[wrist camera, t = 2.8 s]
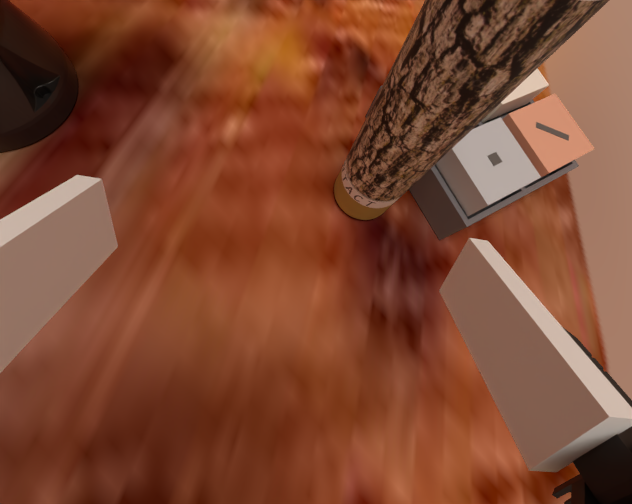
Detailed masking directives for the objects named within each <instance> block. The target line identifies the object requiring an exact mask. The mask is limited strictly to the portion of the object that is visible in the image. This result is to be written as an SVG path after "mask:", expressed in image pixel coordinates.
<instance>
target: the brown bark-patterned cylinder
mask: <svg viewBox="0 0 632 504" xmlns="http://www.w3.org/2000/svg"><path fill="white" fill-rule="evenodd" d="M608 1H609V0H425V2H424V4H423V6H422V8H421V10H420V12H419V14H418V16H417V18H416V20H415V22H414V24H413V26H412V28H411V30H410V32H409V34H408V36H407V38H406V40H405V42H404V44H403V46H402V48H401V50H400V52H399V54H398V56H397V58H396V60H395V62H394V64H393V66H392V68H391V70H390V72H389V74H388V76H387V78H386V80H385V82H384V84H383V86H382V88H381V90H380V92H379V94H378V96H377V98H376V100H375V102H374V104H373V106H372V108H371V110H370V112H369V114H368V116H367V118H366V120H365V122H364V124H363V126H362V128H361V130H360V132H359V134H358V136H357V138H356V140H355V142H354V144H353V146H352V148H351V150H350V152H349V154H348V156H347V158H346V160H345V162H344V164H343V167H342V169H341V171H340V173H339V175H338V177H337V179H336V181H335V185H334V195H335V199H336V201H337V203H338V205H339V206H340V208H341V209H342V210H343V211H344V212H345V213H346V214H348V215H349V216H351V217H353V218H356V219H361V220H370V219H374V218H376V217H378V216H380V215H381V214H383V213H384V212H385V211H386V210H387V209H388V208H389V207H390V206H391V205H392V204H393V203H395V202H396V201H397V200H398V199H399V198H400V197H401V196H402V195H403V194H404V193H405V192H406V191H407V190H408V189H410V188H411V187H412V186H413V185H414V184H415V183H416V182H417V181H418V180H419V179H420V178H421V177H422V176H423V175H424V174H425V173H427V172H428V171H429V170H430V169H431V168H432V167H433V166H434V165H435V164H436V163H437V162H438V161H439V160H440V159H441V158H442V157H444V156H445V155H446V154H447V153H448V152H449V151H450V150H451V149H452V148H453V147H454V146H455V145H456V144H457V143H458V142H459V141H461V140H462V139H463V138H464V137H465V136H466V135H467V134H468V133H469V132H470V131H471V130H472V129H473V128H474V127H475V126H476V125H478V124H479V123H480V122H481V121H482V120H483V119H484V118H485V117H486V116H487V115H488V114H489V113H490V112H491V111H492V110H493V109H495V108H496V107H497V106H498V105H499V104H500V103H501V102H502V101H503V100H504V99H505V98H506V97H507V96H508V95H509V94H510V93H512V92H513V91H514V90H515V89H516V88H517V87H518V86H519V85H520V84H521V83H522V82H523V81H524V80H525V79H526V78H527V77H529V76H530V75H531V74H532V73H533V72H534V71H535V70H536V69H537V68H538V67H539V66H540V65H541V64H542V63H543V62H544V61H546V60H547V59H548V58H549V57H550V56H551V55H552V54H553V53H554V52H555V51H556V50H557V49H558V48H559V47H560V46H561V45H562V44H564V43H565V42H566V41H567V40H568V39H569V38H570V37H571V36H572V35H573V34H574V33H575V32H576V31H577V30H578V29H580V28H581V27H582V26H583V25H584V24H585V23H586V22H587V21H588V20H589V19H590V18H591V17H592V16H593V15H594V14H595V13H597V12H598V11H599V10H600V9H601V8H602V7H603V6H604V5H605V4H606V3H607V2H608Z"/></svg>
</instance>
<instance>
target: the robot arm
mask: <svg viewBox="0 0 632 504" xmlns="http://www.w3.org/2000/svg"><path fill="white" fill-rule="evenodd" d="M77 93H78V80H77V75H76V71H75V69H74V67H73V65H72V63H71V61H70V60H69V58H68V57H67V56H66V54H65V53H64V51H63V50H62V49H61V47H60V46H59V45H58V43H57V42H56V41H55V40H54V38H53V37H52V36H51V35H50V34H49V33H48V32H47V31H46V30H44V29H43V28H42V27H41V26H40V25H38V24H37V23H36V22H35V21H33V20H32V19H31V18H30V17H28V16H27V15H26V14H25V13H23V12H22V11H21V10H20V9H19V8H17V7H16V6H15V5H14V4H12V3H11V2H10V1H9V0H0V152H4V151H9V150H14V149H18V148H21V147H24V146H27V145H29V144H32V143H34V142H36V141H38V140H40V139H42V138H44V137H45V136H47V135H48V134H50V133H51V132H53V131H54V130H55V129H56V128H57V127H58V126H59V125H61V124H62V122H63V121H64V120H65V119H66V118H67V116H68V115H69V113H70V112H71V110H72V108H73V106H74V104H75V101H76V98H77ZM117 247H118V244H117V240H116V236H115V232H114V227H113V223H112V219H111V215H110V211H109V206H108V202H107V198H106V194H105V189H104V185H103V181H102V179H100V178H93V177H87V176H81V175H76V176H74V177H73V178H71V179H69V180H68V181H66V182H64V183H62V184H61V185H59V186H57V187H56V188H54V189H52V190H50V191H49V192H47V193H45V194H44V195H42V196H40V197H38V198H37V199H35V200H33V201H32V202H30V203H28V204H26V205H25V206H23V207H21V208H20V209H18V210H16V211H14V212H13V213H11V214H9V215H8V216H6V217H4V218H2V219H1V220H0V373H1V372H2V371H3V370H4V369H5V367H6V366H7V365H8V364H9V363H10V362H11V361H12V360H13V359H14V358H15V357H16V356H17V355H18V353H19V352H20V351H21V350H22V349H23V348H24V347H25V346H26V345H27V344H28V343H29V342H30V341H31V340H32V338H33V337H34V336H35V335H36V334H37V333H38V332H39V331H40V330H41V329H42V328H43V327H44V326H45V324H46V323H47V322H48V321H49V320H50V319H51V318H52V317H53V316H54V315H55V314H56V313H57V312H58V311H59V309H60V308H61V307H62V306H63V305H64V304H65V303H66V302H67V301H68V300H69V299H70V298H71V297H72V295H73V294H74V293H75V292H76V291H77V290H78V289H79V288H80V287H81V286H82V285H83V284H84V283H85V282H86V280H87V279H88V278H89V277H90V276H91V275H92V274H93V273H94V272H95V271H96V270H97V269H98V268H99V266H100V265H101V264H102V263H103V262H104V261H105V260H106V259H107V258H108V257H109V256H110V255H111V254H112V253H113V251H114V250H115V249H116V248H117ZM439 291H440V293H441V295H442V297H443V299H444V301H445V303H446V305H447V307H448V309H449V311H450V313H451V315H452V317H453V319H454V321H455V323H456V325H457V327H458V329H459V331H460V333H461V335H462V337H463V339H464V341H465V343H466V345H467V347H468V349H469V351H470V353H471V355H472V357H473V359H474V361H475V363H476V365H477V367H478V369H479V371H480V373H481V375H482V377H483V379H484V381H485V383H486V385H487V387H488V389H489V391H490V393H491V395H492V397H493V399H494V401H495V403H496V405H497V407H498V409H499V411H500V413H501V415H502V417H503V419H504V421H505V423H506V425H507V427H508V429H509V431H510V433H511V435H512V437H513V439H514V441H515V443H516V445H517V447H518V449H519V451H520V453H521V455H522V457H523V459H524V461H525V463H526V465H527V467H528V469H529V470H531V471H546V472H557V471H559V470H561V469H562V468H564V467H566V466H567V465H569V464H570V463H572V462H573V463H574V464H575V466H576V468H577V469H578V471H579V473H580V474H579V475H577V476H575V477H574V478H572V479H570V480H568V481H567V482H565V483H563V484H561V485H559V486H558V487H556V488H555V489H554V492H553V494H552V495H553V496H555V497H556V498H559V497H560V496H562V495H564V494H566V493H568V492H571V498H570V499H568V500H567V501H565V502H564V504H632V400H631V399H630V398H629V397H628V396H627V395H626V394H625V392H624V391H623V390H622V389H621V388H620V387H619V385H617V383H616V382H615V381H614V380H613V379H612V377H611V376H610V375H609V374H608V373H607V372H604V371H603V367H602V366H601V365H600V364H599V363H598V361H597V360H596V359H595V358H592V357H591V354H590V352H589V351H588V350H587V349H586V348H585V347H584V346H583V344H582V343H581V342H580V341H579V340H578V339H577V338H576V337H575V336H573V335H572V334H571V333H570V332H568V331H567V330H566V329H565V328H563V327H562V326H561V325H560V324H559V323H558V322H557V320H556V319H555V318H554V317H553V316H552V315H551V314H550V312H549V311H548V310H547V309H546V308H545V307H544V305H543V304H542V303H541V302H540V301H539V300H538V298H537V297H536V296H535V295H534V294H533V293H532V292H531V290H530V289H529V288H528V287H527V286H526V285H525V283H524V282H523V281H522V280H521V279H520V278H519V276H518V275H517V274H516V273H515V272H514V271H513V270H512V268H511V267H510V266H509V265H508V264H507V263H506V261H505V260H504V259H503V258H502V257H501V256H500V254H499V253H498V252H497V251H496V250H495V249H494V248H493V246H492V245H491V244H490V243H489V242H488V241H486V240H480V239H474V238H469V239H468V241H467V243H466V244H465V246H464V248H463V250H462V251H461V253H460V255H459V257H458V258H457V260H456V262H455V264H454V265H453V267H452V269H451V271H450V272H449V274H448V276H447V278H446V279H445V281H444V283H443V285H442V286H441V288H440V290H439Z"/></svg>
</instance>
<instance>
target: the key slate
mask: <svg viewBox="0 0 632 504" xmlns="http://www.w3.org/2000/svg"><path fill="white" fill-rule="evenodd" d="M435 165H436V167H437V168H438V170H439V172H440V173H441V175H442V176H443V178H444V180H445V181H446V183H447V184H448V186H449V188H450V189H451V191H452V192H453V194H454V196H455V197H456V199H457V200H458V202H459V204H460V205H461V207H462V209H463V210H464V212H465V213H466V215H467V217H468V216H470V215H471V214H473V213H475V212H477V211H479V210H481V209H483V208H485V207H486V206H488V205H490V204H492V203H494V202H496V201H498V200H500V199H502V198H503V197H505V196H507V195H509V194H511V193H513V192H515V191H517V190H518V189H520V188H522V187H524V186H526V185H528V184H530V183H531V182H533V181H535V180H537V179H539V178H541V176H540V175H539V173H538V172H537V170H536V169H535V167H534V166H533V164H532V163H531V161H530V160H529V158H528V157H527V155H526V154H525V153H524V151H523V150H522V148H521V147H520V145H519V144H518V142H517V141H516V139H515V138H514V136H513V135H512V133H511V132H510V130H509V129H508V127H507V126H506V124H505V123H504V121H503V120H502V118H501V117H500V118H497V119H495V120H493V121H490V122H488V123H486V124H483V125H481V126H479V127H477V128H474V129H472V130H471V131H470V132H469V133H468V134H467V135H466V136H465V137H464V138H463V139H462V140H461V141H459V142H458V143H457V144H456V145H455V146H454V147H453V148H452V149H451V150H450V151H449V152H448V153H447V154H446V155H445V156H444V157H442V158H441V159H440V160H439V161H438V162H437V163H436V164H435Z"/></svg>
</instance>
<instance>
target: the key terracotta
mask: <svg viewBox="0 0 632 504" xmlns="http://www.w3.org/2000/svg"><path fill="white" fill-rule="evenodd" d="M502 120H503V121H504V123H505V124H506V126H507V127H508V129H509V130H510V132H511V133H512V135H513V136H514V138H515V139H516V141H517V142H518V144H519V145H520V147H521V148H522V150H523V151H524V153H525V154H526V155H527V157H528V158H529V160H530V161H531V163H532V164H533V166H534V167H535V169H536V170H537V172H538V173H539V175H540V176H541V177H543V176H545V175H547V174H549V173H551V172H552V171H554V170H556V169H558V168H560V167H562V166H564V165H566V164H567V163H569V162H571V161H573V160H575V159H576V158H579V157H581V156H582V155H584V154H586V153H588V152H590V151H592V150H594V147H593V146H592V144H591V143H590V141H589V140H588V139H587V138H586V136H585V134H584V133H583V132H582V130H581V129H580V127H579V126H578V125H577V123H576V122H575V120H574V119H573V118H572V116H571V115H570V113H569V112H568V111H567V110H566V108H565V106H564V105H563V104H562V102H561V101H560V99H559V98H558V97H557V95H556V94H553V95H551V96H549V97H546V98H544V99H542V100H539V101H537V102H535V103H532V104H530V105H528V106H525V107H523V108H521V109H518V110H516V111H514V112H511V113H509V114H508V115H507V116H505V117H504V118H503V119H502ZM533 182H534V181H533ZM531 183H532V182H531Z"/></svg>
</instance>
